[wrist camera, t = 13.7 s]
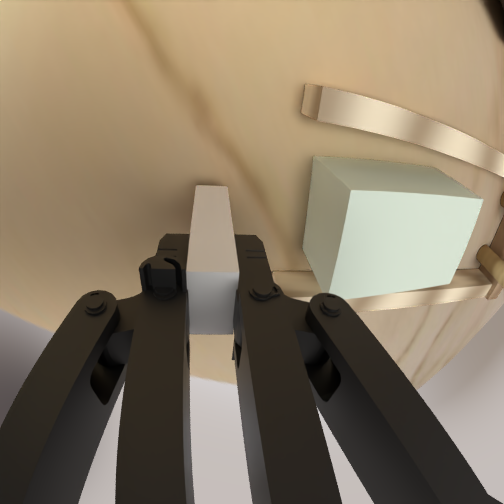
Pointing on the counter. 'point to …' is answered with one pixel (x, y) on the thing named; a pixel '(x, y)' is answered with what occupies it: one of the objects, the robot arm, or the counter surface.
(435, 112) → the counter surface
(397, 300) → the wooden u-shaped frame
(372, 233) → the block
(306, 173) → the counter surface
